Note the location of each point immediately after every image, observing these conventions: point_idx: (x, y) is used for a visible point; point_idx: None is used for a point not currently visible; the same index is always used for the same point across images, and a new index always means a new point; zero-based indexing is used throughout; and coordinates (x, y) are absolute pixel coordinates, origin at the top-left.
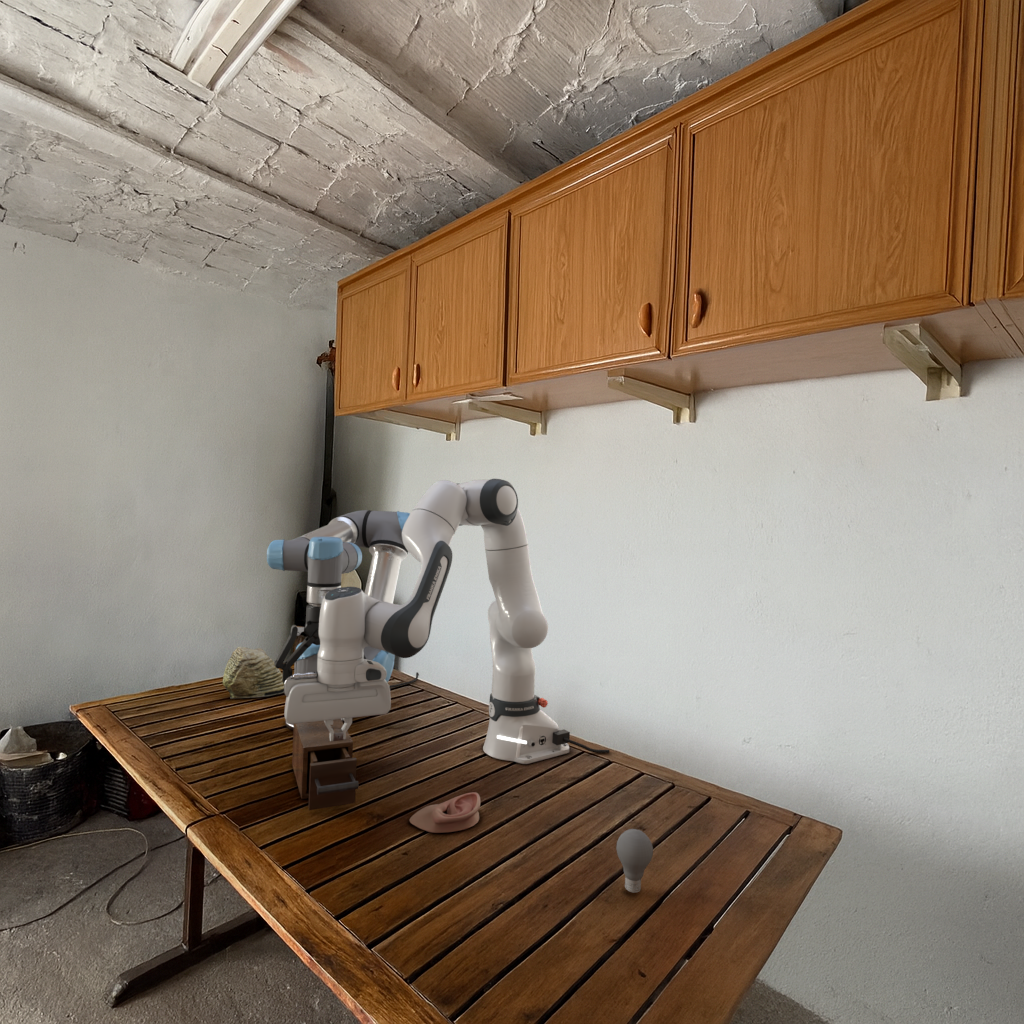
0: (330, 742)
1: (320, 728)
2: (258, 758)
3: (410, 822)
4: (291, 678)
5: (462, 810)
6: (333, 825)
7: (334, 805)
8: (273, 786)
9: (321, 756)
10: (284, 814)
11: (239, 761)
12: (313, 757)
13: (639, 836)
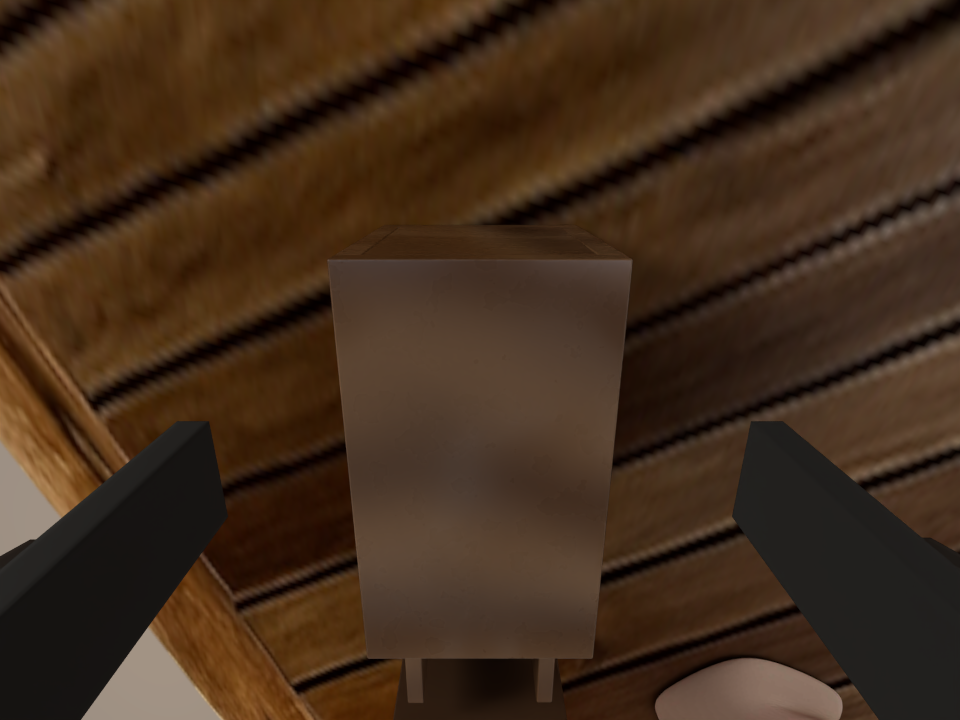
0: (492, 640)
1: (473, 468)
2: (231, 85)
3: (655, 707)
4: (89, 693)
5: None
6: None
7: None
8: (312, 393)
9: None
10: (349, 573)
11: (147, 94)
12: (411, 675)
13: None
